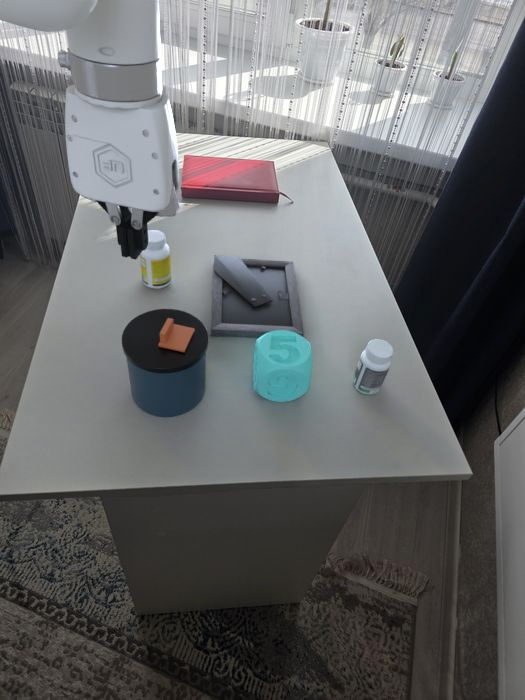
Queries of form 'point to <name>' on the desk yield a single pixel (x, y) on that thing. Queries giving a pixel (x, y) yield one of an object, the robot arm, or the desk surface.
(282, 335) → the decorative dice
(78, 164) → the robot arm
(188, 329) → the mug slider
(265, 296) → the picture frame
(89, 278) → the desk surface
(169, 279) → the supplement bottle
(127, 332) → the travel mug
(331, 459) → the desk surface
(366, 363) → the pill bottle
